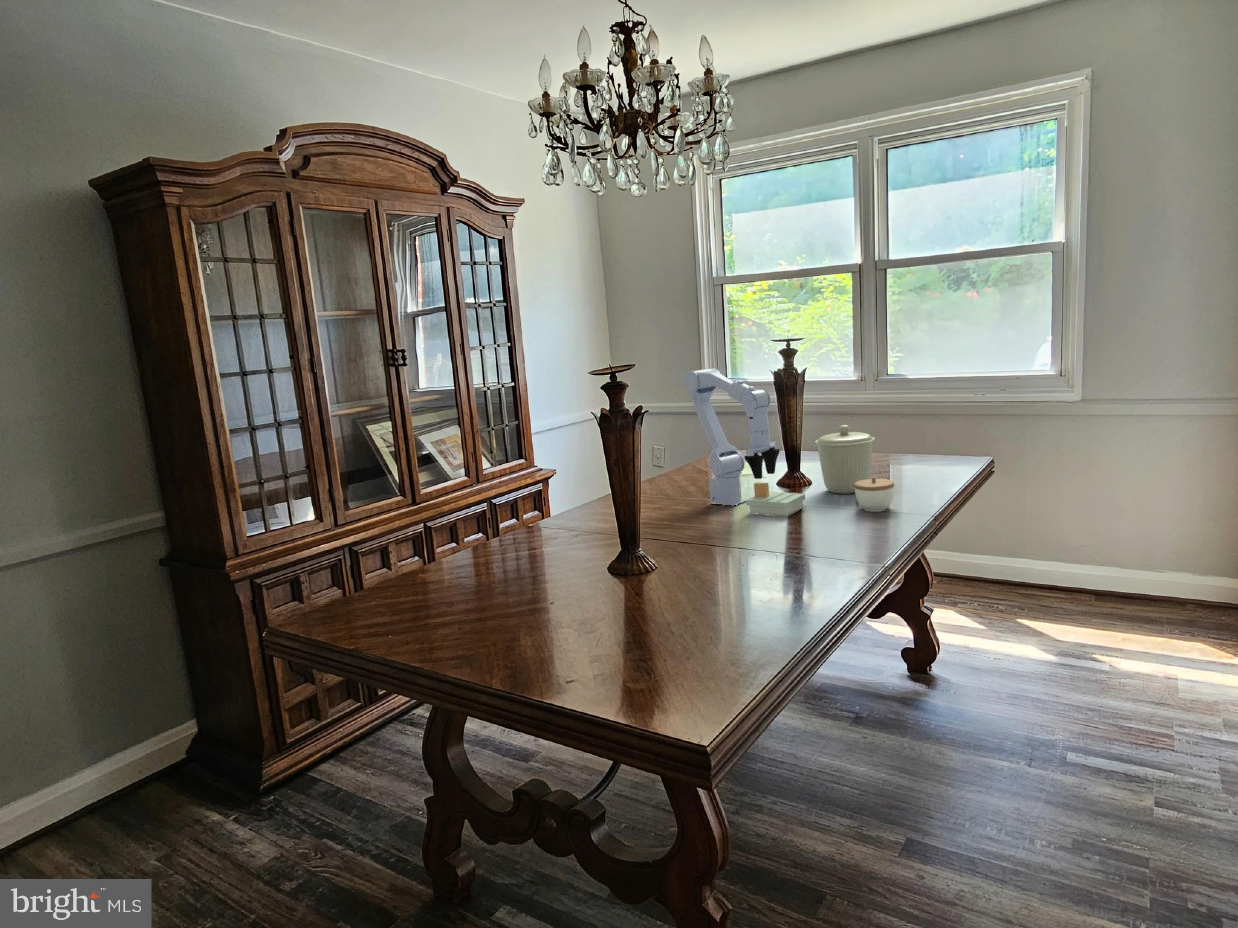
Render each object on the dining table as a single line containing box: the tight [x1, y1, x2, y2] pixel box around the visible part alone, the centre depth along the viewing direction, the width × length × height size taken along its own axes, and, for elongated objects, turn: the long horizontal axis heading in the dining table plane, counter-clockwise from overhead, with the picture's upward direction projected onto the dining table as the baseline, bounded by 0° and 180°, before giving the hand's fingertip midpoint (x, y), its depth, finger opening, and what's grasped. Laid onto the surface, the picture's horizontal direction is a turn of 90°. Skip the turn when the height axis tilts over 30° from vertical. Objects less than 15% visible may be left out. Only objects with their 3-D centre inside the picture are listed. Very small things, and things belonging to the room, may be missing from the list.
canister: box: [814, 424, 876, 495], centre depth 242 cm, size 18×18×21 cm
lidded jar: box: [854, 476, 895, 513], centre depth 217 cm, size 11×11×9 cm
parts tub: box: [749, 501, 804, 518], centre depth 226 cm, size 12×10×4 cm
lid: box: [745, 481, 806, 508], centre depth 226 cm, size 13×11×6 cm
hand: (764, 476), depth 227 cm, fingers open, 7 cm apart
